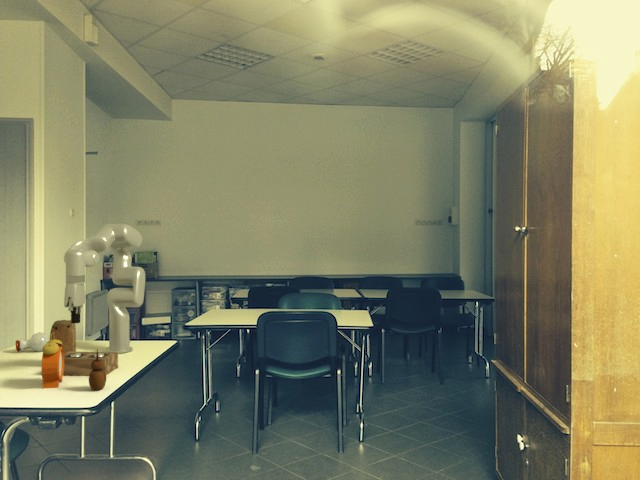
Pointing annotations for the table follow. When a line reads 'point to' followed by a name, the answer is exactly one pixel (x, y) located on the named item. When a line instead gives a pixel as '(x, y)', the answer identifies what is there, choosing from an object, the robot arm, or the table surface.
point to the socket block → (88, 363)
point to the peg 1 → (75, 355)
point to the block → (64, 334)
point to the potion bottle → (33, 342)
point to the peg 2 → (99, 355)
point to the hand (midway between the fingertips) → (75, 322)
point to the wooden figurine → (97, 374)
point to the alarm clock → (52, 364)
